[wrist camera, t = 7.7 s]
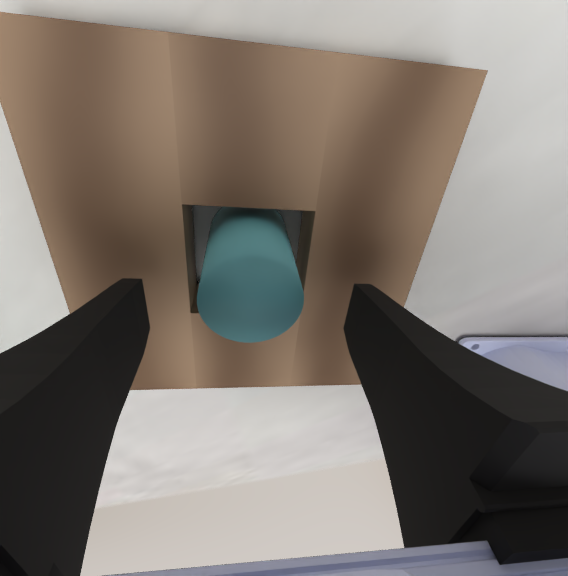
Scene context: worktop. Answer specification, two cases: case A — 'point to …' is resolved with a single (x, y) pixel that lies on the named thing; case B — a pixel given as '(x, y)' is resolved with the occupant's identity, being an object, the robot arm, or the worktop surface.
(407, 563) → the robot arm
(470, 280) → the worktop surface
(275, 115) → the walnut collar plate
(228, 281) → the teal peg
